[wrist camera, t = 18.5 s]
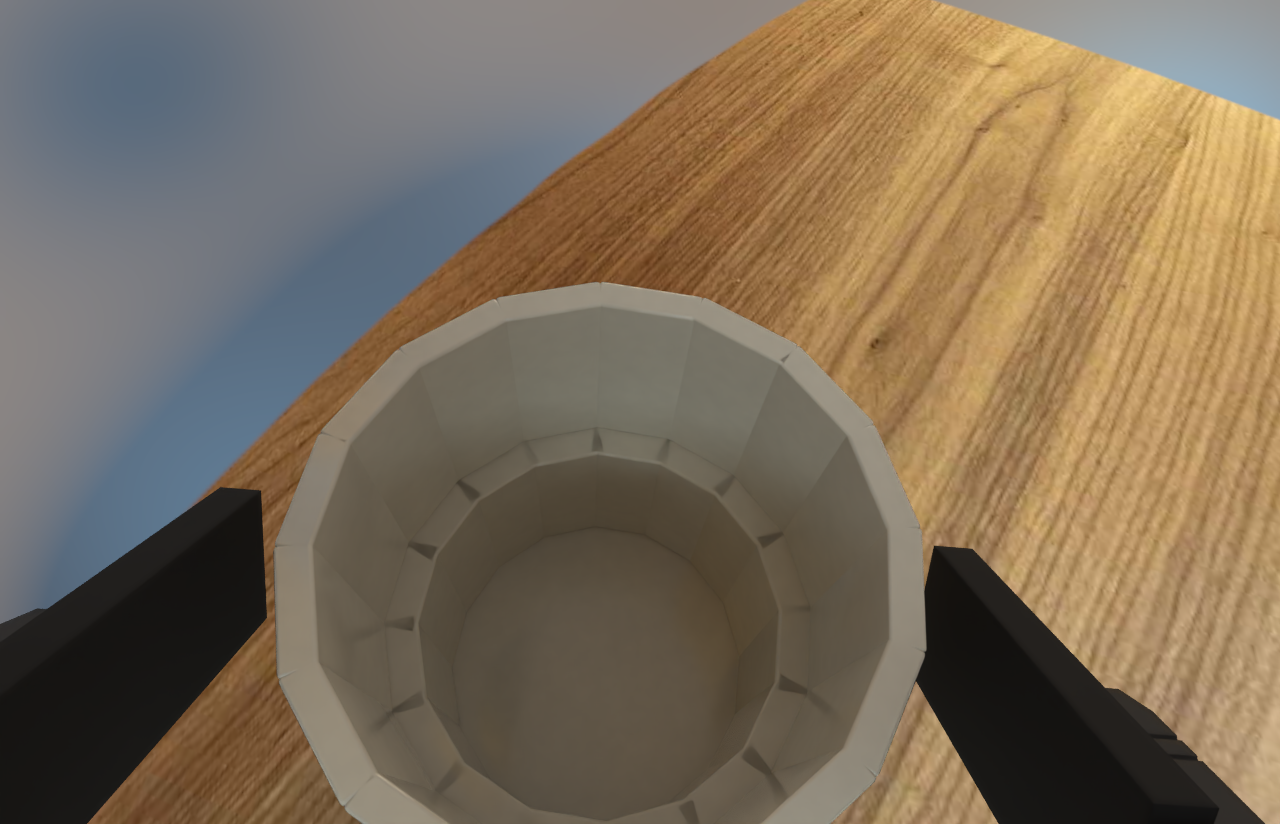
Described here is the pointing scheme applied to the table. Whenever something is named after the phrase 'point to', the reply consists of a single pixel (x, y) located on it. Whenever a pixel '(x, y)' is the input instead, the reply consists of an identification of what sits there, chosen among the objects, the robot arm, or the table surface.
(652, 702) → the faceted beige cup
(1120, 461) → the table surface
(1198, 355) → the table surface
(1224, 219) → the table surface
